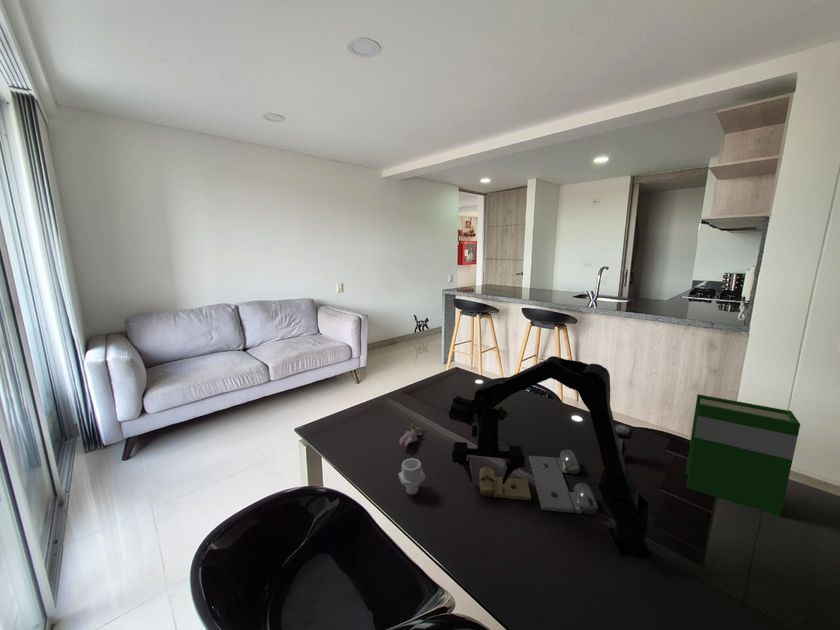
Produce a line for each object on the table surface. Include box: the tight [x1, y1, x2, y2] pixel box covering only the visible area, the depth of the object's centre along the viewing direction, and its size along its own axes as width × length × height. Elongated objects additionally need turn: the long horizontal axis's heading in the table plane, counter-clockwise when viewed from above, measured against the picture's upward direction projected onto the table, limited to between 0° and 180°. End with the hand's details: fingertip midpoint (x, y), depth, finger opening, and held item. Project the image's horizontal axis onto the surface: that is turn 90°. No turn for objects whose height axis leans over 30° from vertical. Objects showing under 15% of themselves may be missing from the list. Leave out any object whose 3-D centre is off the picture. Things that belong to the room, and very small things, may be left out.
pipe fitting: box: [398, 457, 426, 495], centre depth 92 cm, size 6×7×8 cm
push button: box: [615, 424, 634, 460], centre depth 104 cm, size 7×5×10 cm
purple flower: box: [399, 422, 423, 447], centre depth 116 cm, size 6×6×15 cm
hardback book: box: [685, 393, 801, 517], centre depth 87 cm, size 18×7×24 cm, turn 55°
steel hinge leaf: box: [528, 448, 599, 515], centre depth 94 cm, size 21×13×4 cm, turn 171°
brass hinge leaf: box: [479, 466, 532, 501], centre depth 93 cm, size 7×13×4 cm, turn 81°
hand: (487, 482), depth 93 cm, fingers open, 8 cm apart
